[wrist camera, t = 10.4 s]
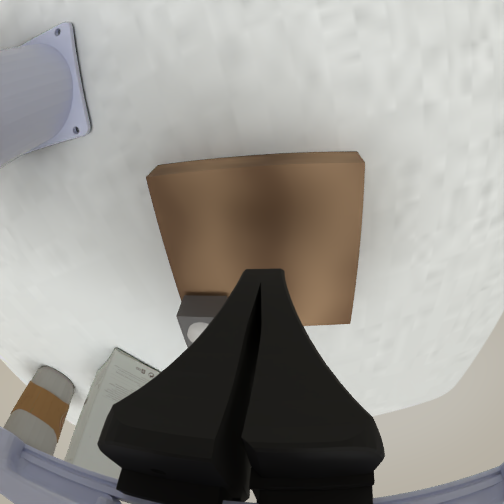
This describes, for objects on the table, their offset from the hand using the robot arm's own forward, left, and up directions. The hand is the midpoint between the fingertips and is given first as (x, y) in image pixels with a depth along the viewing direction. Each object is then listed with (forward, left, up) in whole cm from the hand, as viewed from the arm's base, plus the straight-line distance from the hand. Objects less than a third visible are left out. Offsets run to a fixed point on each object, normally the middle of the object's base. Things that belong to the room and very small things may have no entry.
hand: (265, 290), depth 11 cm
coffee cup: (-33, -26, -10) cm, 43 cm away
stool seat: (-1, -9, -9) cm, 13 cm away
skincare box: (-18, -21, -10) cm, 29 cm away
